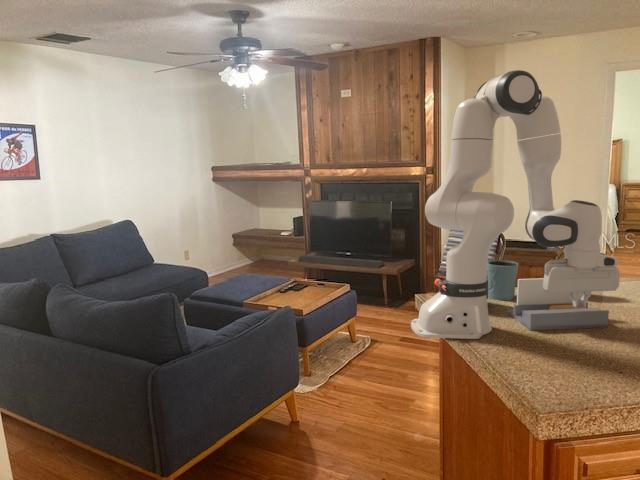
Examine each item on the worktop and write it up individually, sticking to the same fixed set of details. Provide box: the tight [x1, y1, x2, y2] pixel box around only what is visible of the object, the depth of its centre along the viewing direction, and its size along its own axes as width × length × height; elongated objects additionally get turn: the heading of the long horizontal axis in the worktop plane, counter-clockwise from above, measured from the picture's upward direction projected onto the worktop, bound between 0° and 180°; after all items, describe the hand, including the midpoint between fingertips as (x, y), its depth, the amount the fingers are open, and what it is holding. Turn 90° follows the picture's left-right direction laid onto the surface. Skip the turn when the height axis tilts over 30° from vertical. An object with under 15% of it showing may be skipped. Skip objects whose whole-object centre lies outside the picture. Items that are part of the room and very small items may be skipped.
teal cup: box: [487, 259, 520, 301], centre depth 175 cm, size 10×10×12 cm
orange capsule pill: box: [549, 305, 586, 310], centre depth 151 cm, size 11×3×3 cm
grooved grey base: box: [507, 301, 610, 331], centre depth 150 cm, size 22×16×5 cm
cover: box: [516, 277, 583, 305], centre depth 152 cm, size 20×8×1 cm
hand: (579, 306), depth 144 cm, fingers closed
